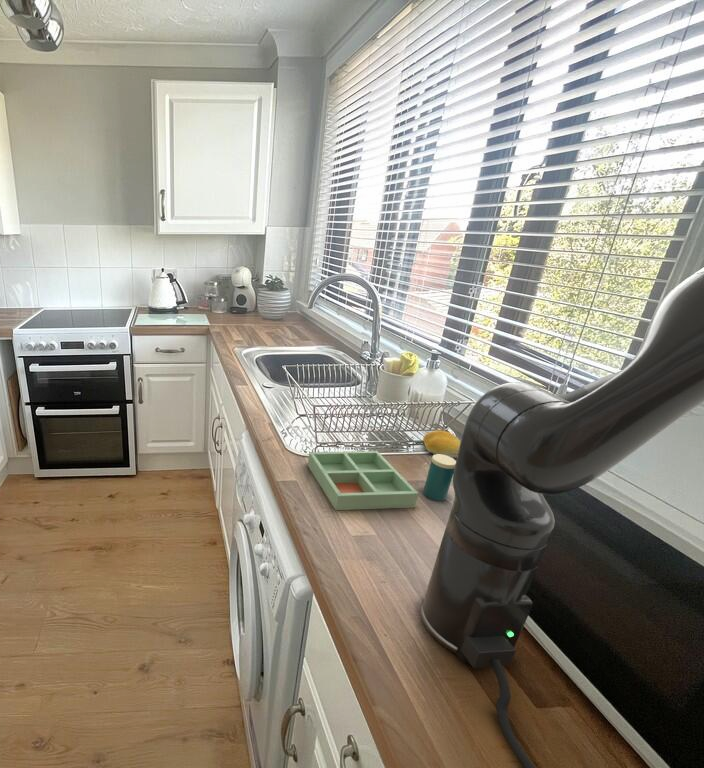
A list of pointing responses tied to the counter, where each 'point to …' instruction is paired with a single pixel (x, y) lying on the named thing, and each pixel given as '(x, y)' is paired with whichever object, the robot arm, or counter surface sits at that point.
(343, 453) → the grid
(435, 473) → the teal cream-capped cylinder
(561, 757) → the counter surface
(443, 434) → the bread roll
